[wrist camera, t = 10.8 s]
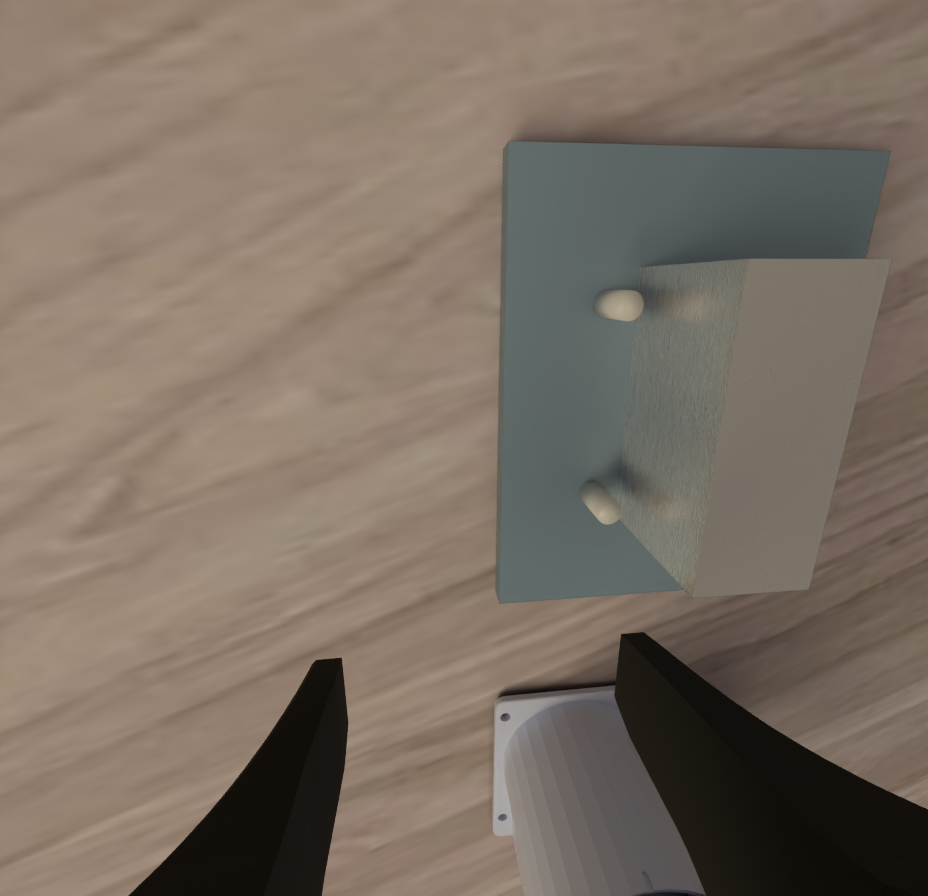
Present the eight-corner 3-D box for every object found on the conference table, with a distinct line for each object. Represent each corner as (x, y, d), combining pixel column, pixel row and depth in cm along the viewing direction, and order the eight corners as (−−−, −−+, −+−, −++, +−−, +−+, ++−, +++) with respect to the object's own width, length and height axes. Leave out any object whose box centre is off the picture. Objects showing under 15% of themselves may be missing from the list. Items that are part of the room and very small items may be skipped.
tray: (774, 570, 24) (823, 607, 22) (495, 590, 23) (508, 633, 20) (866, 158, 19) (948, 135, 16) (503, 148, 17) (522, 122, 14)
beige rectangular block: (704, 509, 22) (811, 589, 16) (615, 514, 21) (692, 598, 16) (744, 267, 18) (895, 259, 13) (640, 267, 18) (748, 258, 12)
